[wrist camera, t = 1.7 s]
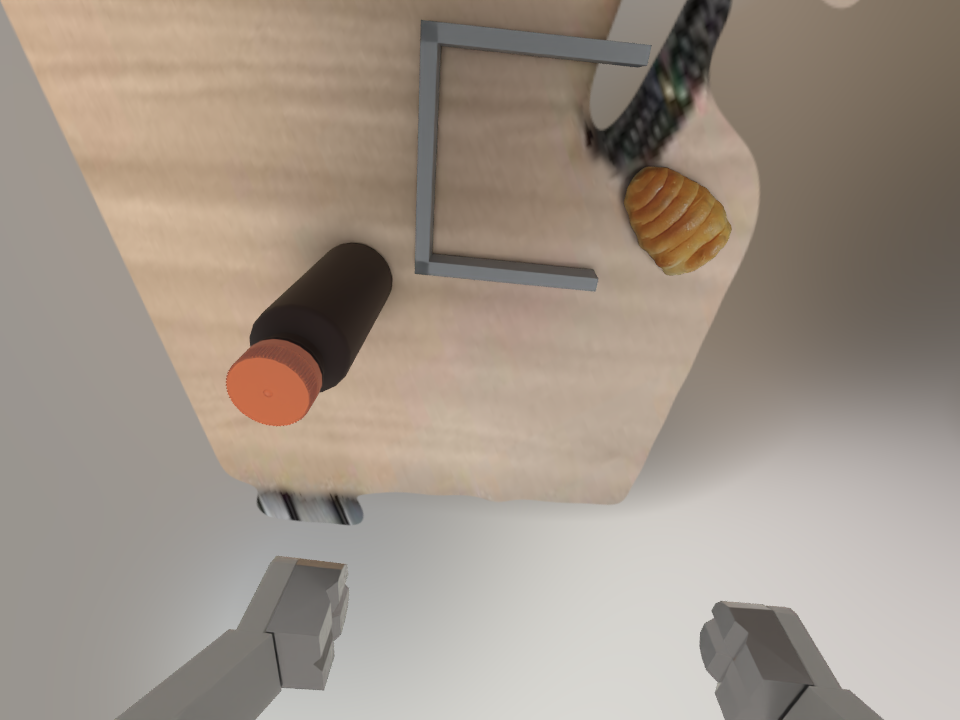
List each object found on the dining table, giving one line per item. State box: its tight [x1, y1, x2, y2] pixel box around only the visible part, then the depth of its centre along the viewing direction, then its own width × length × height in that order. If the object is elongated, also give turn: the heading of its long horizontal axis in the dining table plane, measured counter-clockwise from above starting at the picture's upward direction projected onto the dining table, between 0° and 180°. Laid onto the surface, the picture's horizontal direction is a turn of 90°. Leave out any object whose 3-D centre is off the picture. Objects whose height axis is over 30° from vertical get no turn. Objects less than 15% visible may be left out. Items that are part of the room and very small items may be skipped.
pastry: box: [624, 167, 732, 276], centre depth 39 cm, size 9×7×4 cm
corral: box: [415, 20, 651, 292], centre depth 38 cm, size 18×16×2 cm
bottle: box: [226, 243, 392, 426], centre depth 36 cm, size 7×7×20 cm
